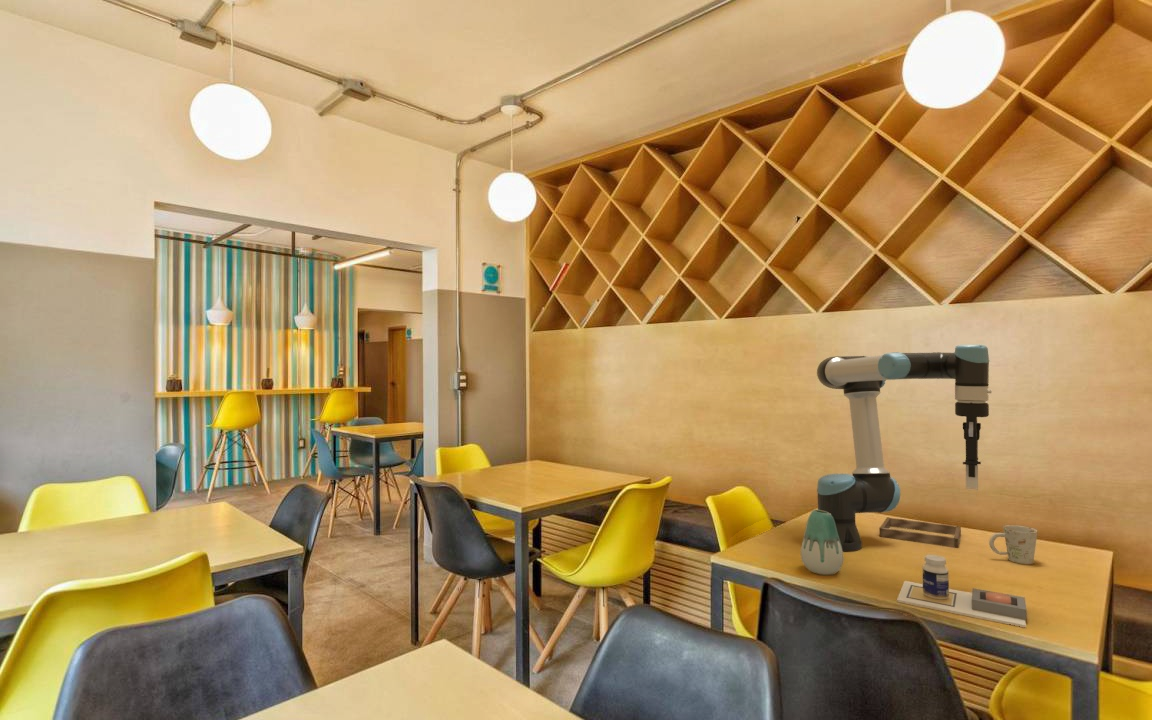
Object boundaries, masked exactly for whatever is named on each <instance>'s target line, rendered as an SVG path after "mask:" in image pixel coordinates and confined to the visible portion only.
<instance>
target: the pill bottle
mask: <svg viewBox="0 0 1152 720" xmlns="http://www.w3.org/2000/svg"><path fill="white" fill-rule="evenodd" d="M924 562H925V563H924V564H923V565H922V584H923V593H924V595H926V596H927V597H930V598H933V599H939V600H945V599H947V598H948V597H949V589H950V588H949V587H950V586H949V585H950V583H949V581H950V580H949V569H948V568H947V567H946V564H947V559H946V558H945V557H944V556H942V555H941V556H940V555H938V554H937V555H936V554H926V555H924Z"/></svg>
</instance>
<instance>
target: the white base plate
mask: <svg viewBox="0 0 1152 720" xmlns="http://www.w3.org/2000/svg"><path fill="white" fill-rule="evenodd" d="M987 592H992V591H990V590H986V589H979V588H973V587H972V591H971V592H968V591H963V590H959V589H957V590H956V589H952V588H949V597H948V598H947V599H945V600H939V599H933V598H930V597H927V596H926V595H924V593H923V583H919V582H913V581H908V580H904V582H903V584H902V586H901V589H900V591H899V594H898V595H897V599H896V603H900V604H906V605H911V606H915V607H921V608H925V609H929V610H930V609H931V610H936V611H940V612H946V613H951V614H955V615H960V616H966V617H969V618H975V619H978V620H979V619H980V620H985V621H988V622H989V621H990V622H994V623H1000V624H1003V625H1004V624H1006V625H1009V624H1011V625H1010V626H1014V625H1015V627H1019V626H1020V628H1024V627H1025V628H1024V629H1027V622H1026V621H1027V620H1028V613H1027V612H1028V611H1027V604H1026V598H1025V596H1024V597H1023V596H1018V595H1014V594H1008V593H1003V592H1002V593H1001V592H1000V593H1001V594H1005V595H1007V596H1009V597H1011V605H1010V604H1004V603H999V602H994V601H988V600H986V593H987ZM995 592H996V591H995ZM996 593H998V592H996Z"/></svg>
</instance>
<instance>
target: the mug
mask: <svg viewBox="0 0 1152 720" xmlns="http://www.w3.org/2000/svg"><path fill="white" fill-rule="evenodd" d="M1002 529H1003V532H996V533H994V534H992V535H991V536H990V538H989V539H988V544H989V548H990V550H992V551H993V553H995V554H997V555H1000V556H1001V555H1002V556H1004V555H1005V556H1006V555H1007V556H1008V557H1007V558H1008V561H1010V562H1012V563H1016V564H1020V565H1033V564H1034V561H1035V560H1034V558H1035V554H1036V547H1037V546H1036V545H1037V538H1038V530H1037V529H1035V528H1032V527H1028V526H1023V525H1015V524H1014V525H1013V524H1012V525H1011V524H1008V525H1004V526H1003V527H1002ZM997 538H1004V539H1005V545H1006V546H1005V548H1006V551H999V550H998V549H997V548H996V546H995V540H996V539H997Z"/></svg>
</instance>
